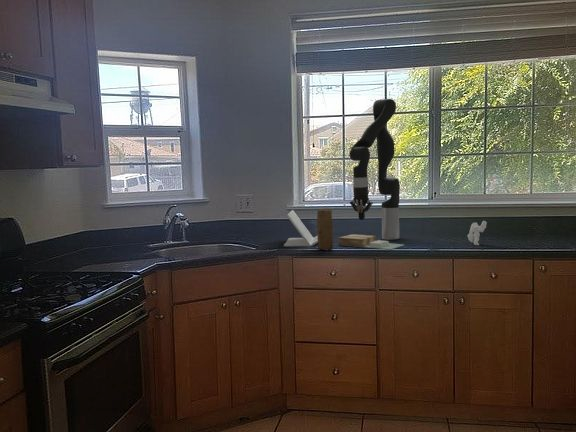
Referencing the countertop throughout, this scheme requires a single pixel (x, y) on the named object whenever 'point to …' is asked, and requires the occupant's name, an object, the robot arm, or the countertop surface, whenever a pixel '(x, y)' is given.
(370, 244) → the pale grey rectangular block
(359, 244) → the board
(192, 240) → the countertop surface
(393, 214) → the robot arm
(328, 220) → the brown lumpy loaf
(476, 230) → the figurine
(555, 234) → the countertop surface
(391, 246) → the mat
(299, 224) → the tablet stand
